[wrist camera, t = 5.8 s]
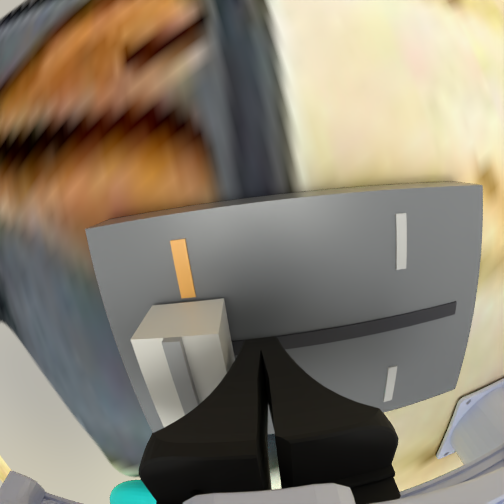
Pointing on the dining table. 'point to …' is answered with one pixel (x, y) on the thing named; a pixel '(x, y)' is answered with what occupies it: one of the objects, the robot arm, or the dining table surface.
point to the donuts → (131, 493)
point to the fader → (183, 354)
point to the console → (312, 281)
